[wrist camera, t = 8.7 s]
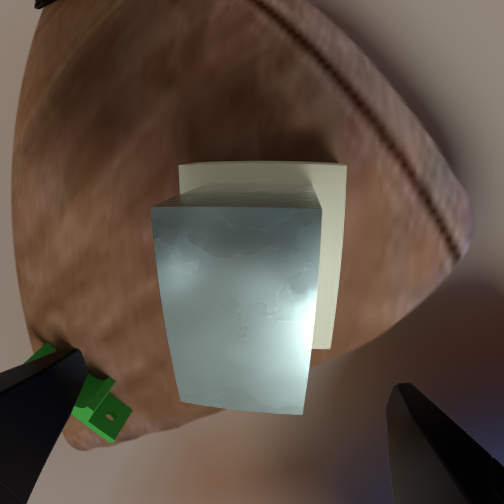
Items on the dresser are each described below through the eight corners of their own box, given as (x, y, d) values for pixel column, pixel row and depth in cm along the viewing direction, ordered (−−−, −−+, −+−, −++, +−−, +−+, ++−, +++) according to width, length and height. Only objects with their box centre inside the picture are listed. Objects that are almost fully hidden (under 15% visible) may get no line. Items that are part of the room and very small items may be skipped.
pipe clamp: (142, 398, 25) (122, 432, 21) (130, 412, 26) (112, 443, 22) (51, 325, 24) (23, 351, 20) (46, 346, 25) (21, 370, 21)
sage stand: (197, 162, 17) (178, 165, 14) (338, 162, 16) (346, 165, 13) (207, 314, 20) (193, 339, 18) (326, 321, 19) (330, 348, 16)
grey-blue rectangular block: (215, 327, 17) (180, 401, 11) (206, 183, 14) (150, 207, 9) (304, 333, 16) (302, 414, 11) (312, 184, 14) (322, 209, 8)
